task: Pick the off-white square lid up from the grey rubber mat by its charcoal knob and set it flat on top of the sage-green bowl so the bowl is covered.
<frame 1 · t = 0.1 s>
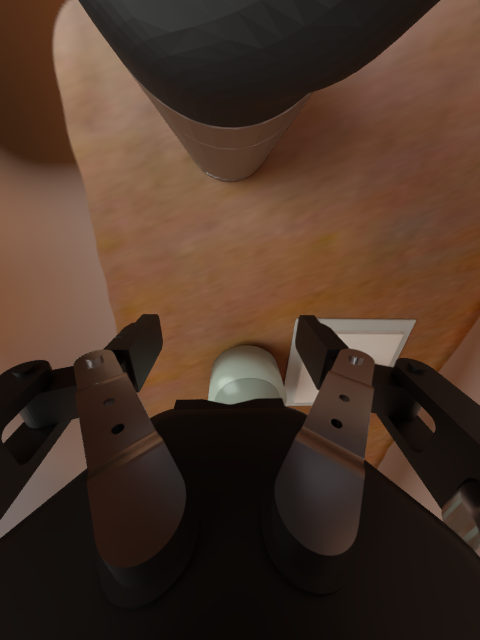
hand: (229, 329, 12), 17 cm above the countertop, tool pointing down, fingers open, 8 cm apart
lid: (341, 367, 36), resting on mat
bowl: (244, 366, 36), on the countertop
mat: (340, 366, 37), on the countertop
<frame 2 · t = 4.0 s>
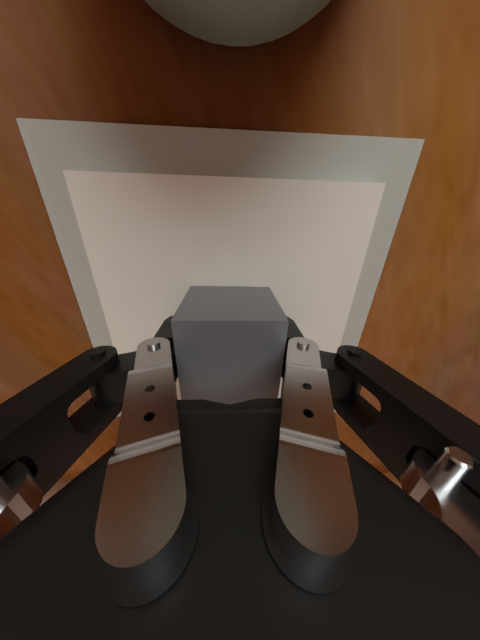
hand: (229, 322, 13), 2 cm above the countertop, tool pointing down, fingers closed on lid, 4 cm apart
lid: (230, 314, 14), resting on mat, touching gripper
mat: (229, 312, 14), on the countertop
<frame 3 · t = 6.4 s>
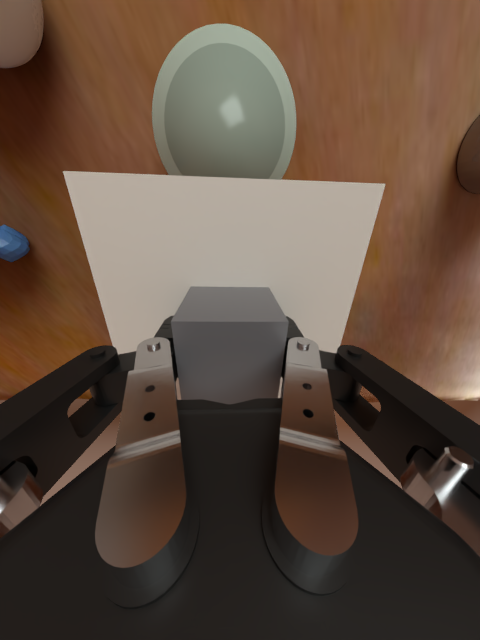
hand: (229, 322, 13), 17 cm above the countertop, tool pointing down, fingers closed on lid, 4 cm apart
lid: (229, 315, 14), point 16 cm above the countertop, touching gripper
bowl: (226, 157, 23), on the countertop
lidded jar: (4, 10, 18), on the countertop
grapes: (2, 242, 25), on the countertop
when the fingers open (10 cm above the countertop, at t = 9.2 s): lid drops 1 cm, resting on bowl.
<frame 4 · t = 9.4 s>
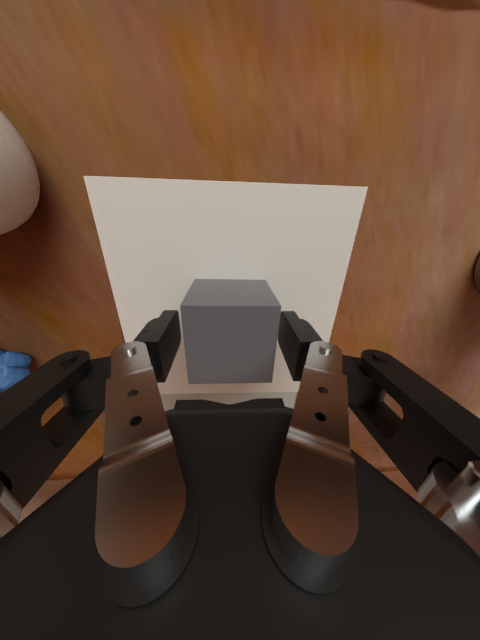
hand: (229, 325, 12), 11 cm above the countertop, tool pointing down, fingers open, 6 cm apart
lid: (230, 306, 15), point 8 cm above the countertop, touching bowl
lidded jar: (0, 168, 17), on the countertop
grapes: (5, 357, 25), on the countertop
mat: (228, 397, 29), on the countertop
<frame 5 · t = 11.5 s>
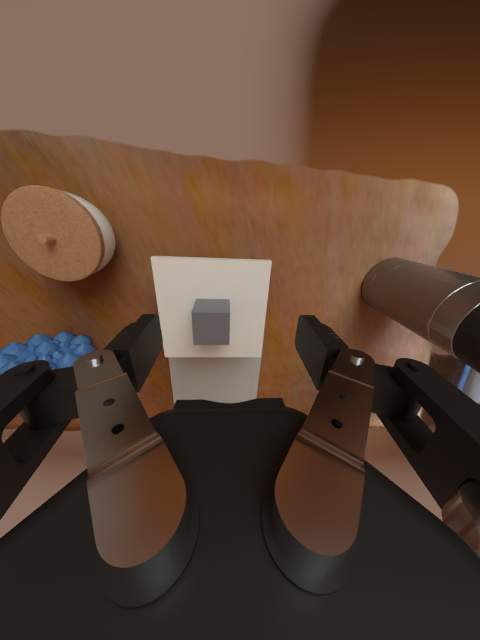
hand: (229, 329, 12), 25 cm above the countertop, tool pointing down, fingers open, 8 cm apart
lid: (213, 311, 30), point 8 cm above the countertop, touching bowl
lidded jar: (91, 233, 32), on the countertop
grapes: (73, 338, 40), on the countertop
mat: (215, 369, 44), on the countertop
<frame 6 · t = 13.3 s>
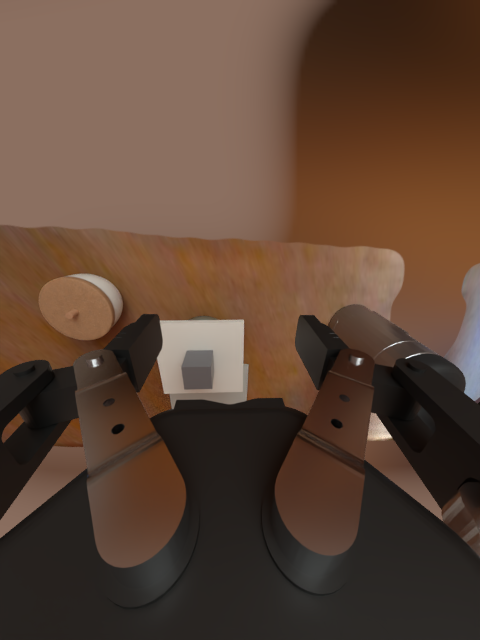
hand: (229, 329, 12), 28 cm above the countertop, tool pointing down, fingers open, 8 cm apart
lid: (201, 357, 38), point 8 cm above the countertop, touching bowl
lidded jar: (103, 295, 40), on the countertop
mat: (208, 395, 52), on the countertop
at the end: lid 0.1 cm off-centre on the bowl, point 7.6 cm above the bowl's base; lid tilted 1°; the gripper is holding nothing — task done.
